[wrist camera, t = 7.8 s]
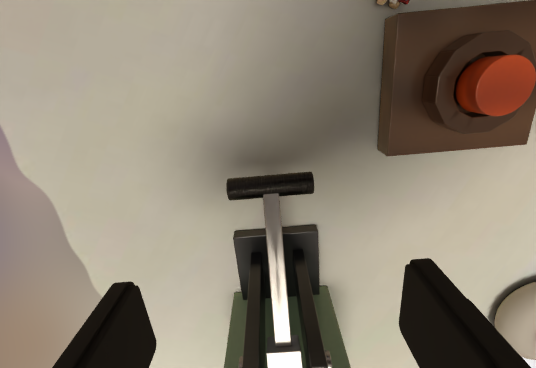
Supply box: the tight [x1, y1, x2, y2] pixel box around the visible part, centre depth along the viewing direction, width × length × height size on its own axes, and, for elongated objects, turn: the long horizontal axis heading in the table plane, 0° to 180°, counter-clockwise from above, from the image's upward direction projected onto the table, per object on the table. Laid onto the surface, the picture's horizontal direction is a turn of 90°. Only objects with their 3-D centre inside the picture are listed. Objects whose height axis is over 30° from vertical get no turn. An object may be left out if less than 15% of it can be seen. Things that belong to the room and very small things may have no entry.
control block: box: [378, 0, 536, 156], centre depth 21 cm, size 10×11×4 cm
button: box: [456, 55, 536, 116], centre depth 18 cm, size 4×4×2 cm
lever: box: [227, 172, 314, 368], centre depth 19 cm, size 14×6×2 cm, turn 6°
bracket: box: [233, 225, 332, 368], centre depth 23 cm, size 8×8×13 cm
